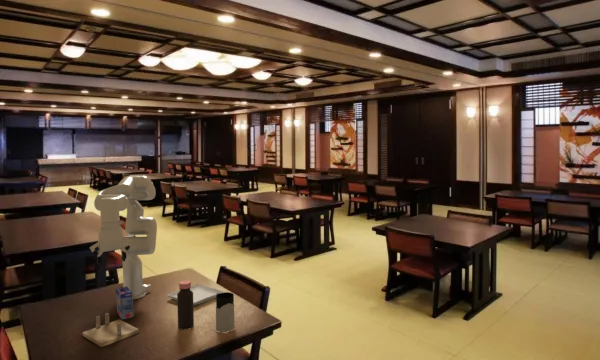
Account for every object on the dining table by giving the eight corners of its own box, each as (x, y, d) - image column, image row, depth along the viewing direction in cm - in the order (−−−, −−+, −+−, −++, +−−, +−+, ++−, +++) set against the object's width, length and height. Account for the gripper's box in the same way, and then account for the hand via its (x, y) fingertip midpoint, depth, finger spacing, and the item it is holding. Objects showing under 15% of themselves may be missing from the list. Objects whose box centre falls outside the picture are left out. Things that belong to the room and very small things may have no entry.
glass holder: (219, 335, 171) (218, 300, 170) (208, 322, 183) (207, 290, 182) (238, 330, 176) (238, 296, 174) (226, 318, 188) (225, 286, 186)
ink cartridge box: (116, 313, 194) (114, 283, 193) (128, 310, 197) (127, 281, 196) (121, 320, 186) (120, 289, 185) (133, 317, 189) (132, 286, 188)
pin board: (119, 322, 183) (118, 308, 182) (138, 332, 173) (138, 317, 173) (82, 335, 170) (82, 320, 170) (101, 347, 161) (100, 331, 160)
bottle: (177, 324, 181) (176, 280, 179) (192, 322, 184) (191, 279, 182) (178, 331, 175) (177, 285, 173) (195, 328, 178) (194, 283, 176)
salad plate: (198, 288, 228) (197, 283, 227) (224, 297, 215) (224, 290, 215) (165, 300, 210) (165, 294, 210) (192, 310, 198) (192, 303, 198)
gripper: (128, 221, 188) (130, 257, 190) (87, 226, 178) (89, 264, 180) (133, 224, 182) (134, 261, 184) (90, 229, 172) (92, 268, 174)
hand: (112, 262), depth 182 cm, fingers open, 9 cm apart
